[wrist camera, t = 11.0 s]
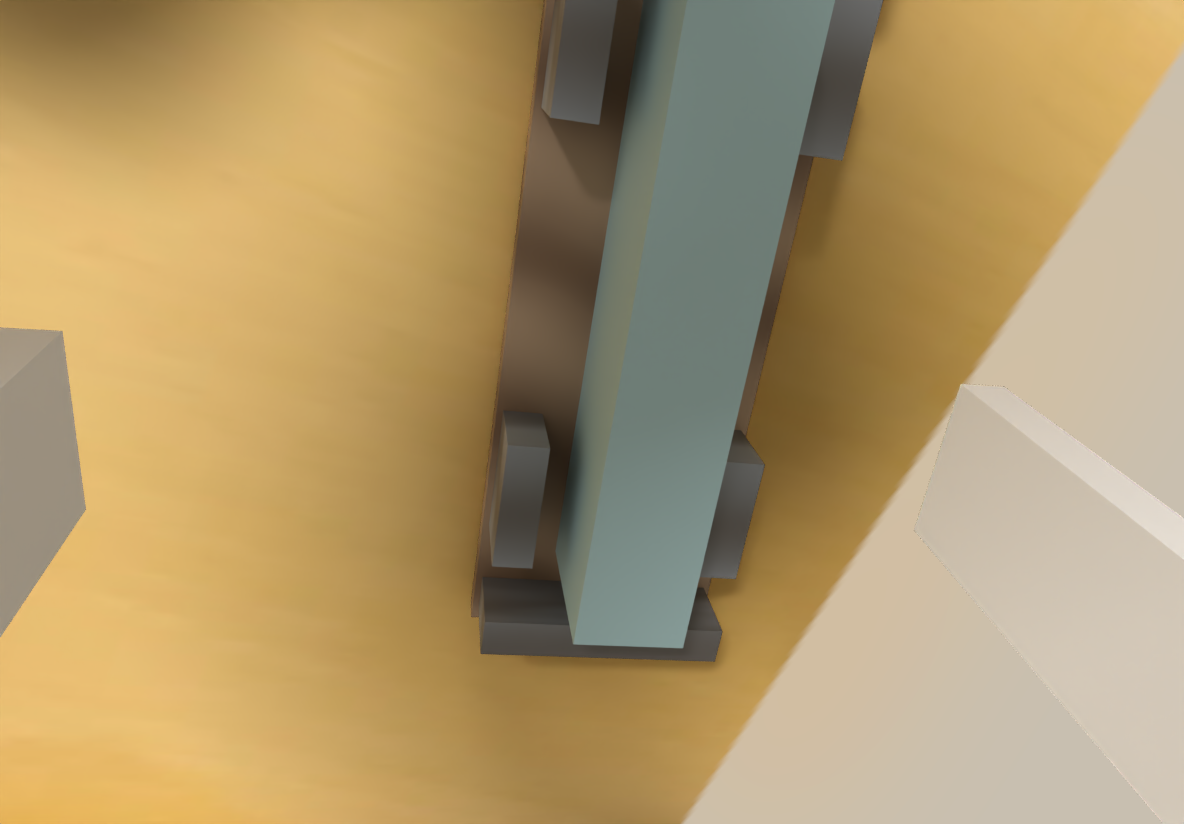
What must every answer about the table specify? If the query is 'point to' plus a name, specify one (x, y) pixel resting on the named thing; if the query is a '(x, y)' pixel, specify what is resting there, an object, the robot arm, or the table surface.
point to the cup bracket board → (565, 311)
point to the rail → (680, 302)
